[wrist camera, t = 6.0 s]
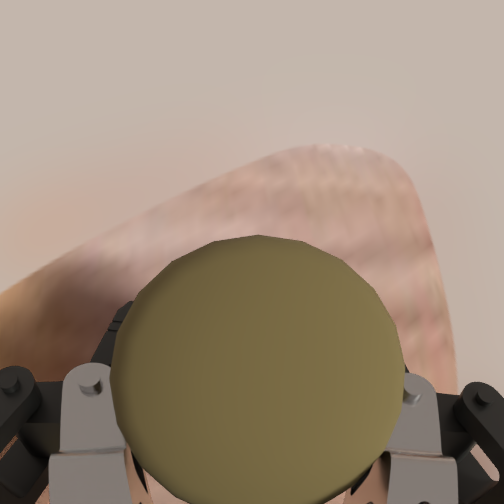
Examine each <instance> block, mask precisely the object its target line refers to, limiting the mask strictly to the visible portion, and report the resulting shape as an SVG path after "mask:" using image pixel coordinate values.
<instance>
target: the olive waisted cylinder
mask: <svg viewBox="0 0 504 504" xmlns="http://www.w3.org/2000/svg"><path fill="white" fill-rule="evenodd" d="M404 379H405V364H404V359H403V355H402V350H401V346H400V341H399V337H398V333H397V328H396V325H395V324H394V322H393V320H392V318H391V317H390V315H389V313H388V311H387V310H386V308H385V306H384V305H383V303H382V301H381V300H380V298H379V296H378V295H377V293H376V291H375V290H374V288H373V287H371V286H370V285H369V284H368V283H367V282H366V281H365V280H364V279H363V278H362V277H361V276H359V275H358V274H357V273H356V272H355V271H354V270H353V269H352V268H351V267H349V266H348V265H347V264H346V263H345V262H344V261H343V260H341V259H339V258H337V257H335V256H333V255H331V254H328V253H326V252H324V251H322V250H320V249H318V248H316V247H313V246H311V245H309V244H307V243H305V242H303V241H297V240H290V239H283V238H276V237H270V236H263V235H254V236H247V237H240V238H234V239H227V240H220V241H214V242H211V243H209V244H207V245H205V246H203V247H201V248H199V249H197V250H195V251H192V252H190V253H188V254H186V255H184V256H182V257H180V258H178V259H176V260H174V261H172V262H171V263H170V264H169V265H168V266H167V267H165V268H164V269H163V270H162V271H161V272H160V273H159V274H158V275H157V276H156V277H155V278H154V279H153V280H152V281H151V282H149V283H148V284H147V285H146V286H145V287H144V288H143V289H142V290H141V291H140V292H139V293H138V295H137V297H136V298H135V300H134V302H133V304H132V306H131V308H130V309H129V311H128V313H127V315H126V317H125V319H124V320H123V322H122V324H121V326H120V328H119V330H118V332H117V335H116V340H115V346H114V351H113V357H112V363H111V370H110V376H109V381H110V387H111V394H112V400H113V405H114V411H115V416H116V422H117V425H118V427H119V429H120V431H121V433H122V435H123V436H124V438H125V440H126V442H127V444H128V446H129V447H130V449H131V451H132V453H133V454H134V456H135V458H136V460H137V461H138V463H139V465H140V466H141V467H142V468H143V469H144V470H145V471H146V472H148V473H149V474H150V475H151V476H152V477H153V478H154V479H155V480H156V481H157V482H159V483H160V484H161V485H162V486H163V487H164V488H165V489H167V490H168V491H169V492H170V493H171V494H172V495H174V496H175V497H176V498H179V499H181V500H183V501H185V502H187V503H190V504H324V503H326V502H328V501H330V500H331V499H333V498H335V497H336V496H338V495H340V494H341V493H343V492H344V491H346V490H348V489H349V488H351V487H352V486H354V485H355V484H356V483H357V482H358V481H359V479H360V478H361V477H362V476H363V475H364V474H365V473H366V472H367V471H368V469H369V468H370V467H371V466H372V465H373V464H374V463H375V461H376V460H377V459H378V458H379V457H380V455H381V454H382V453H383V452H384V450H385V448H386V446H387V443H388V441H389V439H390V437H391V434H392V432H393V430H394V427H395V425H396V423H397V420H398V418H399V415H400V413H401V409H402V400H403V390H404Z"/></svg>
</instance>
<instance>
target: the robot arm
mask: <svg viewBox="0 0 504 504" xmlns="http://www.w3.org/2000/svg"><path fill="white" fill-rule="evenodd" d="M133 302H134V301H129V302H128V303H127V304H125V305H124V306H123V307H121V308H120V309H119V310H118V311H117V313H116V315H115V317H114V319H113V320H112V321H113V322H112V323H111V324H110V326H109V328H108V331H106V333H105V335H104V337H103V339H102V340H101V342H100V344H99V346H98V348H97V350H96V352H95V354H94V355H93V357H92V359H91V361H90V363H86V364H82V365H79V366H77V367H75V368H74V369H72V370H71V371H70V372H69V373H68V374H67V375H66V377H65V379H64V381H58V382H36V381H35V379H34V377H33V375H32V373H31V372H30V371H29V370H28V369H26V368H24V367H21V366H10V367H6V368H4V369H2V370H0V453H1V452H2V450H3V449H4V448H5V447H6V445H7V444H8V443H9V442H10V441H11V439H12V438H13V437H14V436H15V435H16V437H17V438H18V439H17V440H16V442H15V443H14V444H13V445H12V446H11V448H10V449H9V450H8V451H7V453H6V454H5V455H4V456H3V458H2V459H1V460H0V504H35V502H36V501H37V499H38V498H39V496H40V495H41V494H42V492H43V491H44V489H45V488H46V486H47V485H48V483H49V496H50V504H153V501H152V497H151V494H150V490H149V486H148V481H147V477H146V473H145V470H144V469H143V468H142V467H141V466H140V465H139V463H138V461H137V460H136V458H135V456H134V454H133V453H132V451H131V449H130V447H129V446H128V444H127V442H126V440H125V438H124V436H123V435H122V433H121V431H120V429H119V427H118V425H117V422H116V416H115V411H114V405H113V400H112V394H111V387H110V381H109V376H110V370H111V363H112V357H113V351H114V346H115V340H116V335H117V332H118V330H119V328H120V326H121V324H122V322H123V320H124V319H125V317H126V315H127V313H128V311H129V309H130V308H131V306H132V304H133ZM404 364H405V363H404ZM476 444H478V445H479V446H480V448H481V449H482V450H483V452H484V453H485V454H486V455H487V456H488V458H489V459H490V460H491V461H492V463H493V464H494V465H495V467H496V468H497V469H498V471H499V475H500V478H499V481H493V480H492V479H491V478H490V477H489V476H488V474H487V473H486V472H485V470H484V469H483V468H482V467H481V465H480V464H479V463H478V461H477V460H476V459H475V458H474V457H473V455H472V454H471V452H470V451H471V450H472V448H473V447H474V446H475V445H476ZM343 504H504V398H503V397H502V396H501V395H500V394H499V393H498V392H497V391H496V390H495V389H494V388H493V387H491V386H489V385H488V384H485V383H482V382H472V383H469V384H468V385H466V386H465V388H464V389H463V391H462V392H461V394H460V395H451V394H442V393H436V391H435V389H434V387H433V386H432V385H431V383H430V382H428V381H427V380H426V379H425V378H423V377H421V376H419V375H416V374H412V373H409V371H408V369H407V367H406V365H405V379H404V390H403V400H402V409H401V413H400V415H399V418H398V420H397V423H396V425H395V427H394V430H393V432H392V434H391V437H390V439H389V441H388V443H387V446H386V448H385V450H384V452H383V453H382V454H381V455H380V457H379V458H378V459H377V460H376V461H375V463H374V464H373V465H372V466H371V467H370V468H369V469H368V471H367V472H366V473H365V474H364V475H363V476H362V477H361V478H360V479H359V481H358V482H357V483H356V484H355V485H354V486H352V487H351V488H349V489H348V490H346V494H345V498H344V501H343Z"/></svg>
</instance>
